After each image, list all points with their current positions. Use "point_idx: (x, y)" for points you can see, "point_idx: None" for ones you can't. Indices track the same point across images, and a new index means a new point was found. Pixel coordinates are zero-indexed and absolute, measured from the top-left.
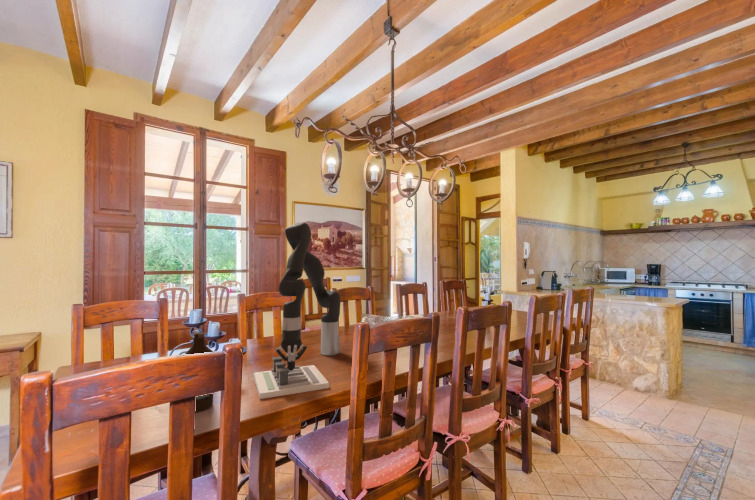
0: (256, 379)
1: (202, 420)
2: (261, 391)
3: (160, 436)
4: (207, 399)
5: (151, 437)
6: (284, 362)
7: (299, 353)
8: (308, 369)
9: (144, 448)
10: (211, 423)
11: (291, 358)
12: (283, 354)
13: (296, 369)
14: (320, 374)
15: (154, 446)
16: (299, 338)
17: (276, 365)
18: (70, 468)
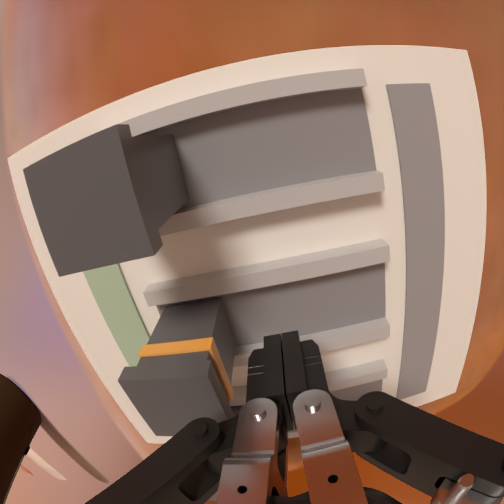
0: (56, 293)
1: (71, 456)
2: (147, 432)
3: (48, 465)
4: (31, 440)
5: (39, 461)
6: (214, 401)
7: (396, 476)
8: (432, 159)
9: (56, 477)
10: (97, 471)
11: (295, 418)
12: (184, 467)
13: (336, 184)
14: (475, 280)
15: (64, 480)
16: None
17: (152, 424)
18: (22, 469)
